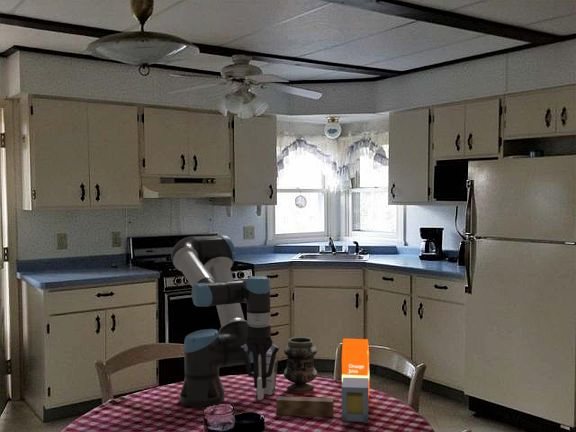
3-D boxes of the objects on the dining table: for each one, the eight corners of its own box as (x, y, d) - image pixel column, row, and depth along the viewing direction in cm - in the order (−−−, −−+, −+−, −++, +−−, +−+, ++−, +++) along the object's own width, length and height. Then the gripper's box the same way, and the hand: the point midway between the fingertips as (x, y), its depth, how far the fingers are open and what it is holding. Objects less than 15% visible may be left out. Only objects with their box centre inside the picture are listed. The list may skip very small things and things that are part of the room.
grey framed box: (341, 420, 190) (341, 387, 190) (343, 409, 200) (343, 377, 199) (368, 421, 189) (367, 387, 188) (368, 410, 199) (368, 378, 198)
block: (347, 418, 192) (346, 396, 192) (347, 412, 197) (347, 391, 197) (363, 418, 191) (363, 396, 191) (363, 413, 196) (363, 391, 196)
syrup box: (271, 395, 215) (276, 354, 214) (255, 392, 216) (259, 351, 215) (275, 390, 220) (279, 350, 220) (259, 387, 222) (263, 347, 221)
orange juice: (344, 392, 217) (343, 335, 217) (369, 393, 216) (369, 336, 215) (341, 399, 210) (341, 341, 209) (368, 401, 208) (367, 342, 207)
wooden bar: (276, 415, 196) (276, 400, 196) (277, 411, 200) (277, 396, 199) (333, 417, 194) (332, 401, 194) (333, 413, 197) (333, 398, 197)
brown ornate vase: (318, 394, 215) (317, 343, 215) (283, 394, 216) (282, 343, 215) (316, 383, 227) (316, 335, 227) (284, 384, 228) (283, 335, 227)
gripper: (236, 327, 195) (238, 401, 195) (277, 327, 193) (278, 402, 194) (241, 322, 202) (243, 394, 203) (280, 322, 200) (282, 395, 201)
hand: (260, 398), depth 198 cm, fingers closed
